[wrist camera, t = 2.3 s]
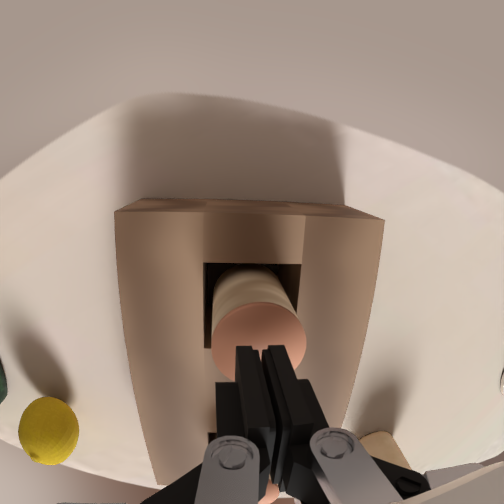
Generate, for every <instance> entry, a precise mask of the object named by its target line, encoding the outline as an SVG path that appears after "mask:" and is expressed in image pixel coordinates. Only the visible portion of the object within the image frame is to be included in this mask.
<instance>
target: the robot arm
mask: <svg viewBox="0 0 504 504" xmlns="http://www.w3.org/2000/svg"><path fill="white" fill-rule="evenodd" d="M500 389H501V393H502V394H503V395H504V373H503V375H502V379H501V386H500ZM215 396H216V428H217V439H215V440H213V441H212V442H211V443H210V444H209V445H208V446H207V448H206V450H205V453H204V458H203V462H202V463H201V464H199V465H198V466H196V467H195V468H194V469H192V470H191V471H189V472H188V473H186V474H185V475H183V476H182V477H180V478H179V479H177V480H176V481H174V482H173V483H171V484H170V485H168V486H167V487H165V488H163V489H162V490H160V491H159V492H157V493H155V494H154V495H152V496H151V497H149V498H147V499H146V500H144V501H143V502H142V503H140V504H258V502H259V501H260V500H261V499H262V498H263V497H264V496H265V495H266V489H267V485H268V481H269V475H270V477H271V481H272V484H278V487H279V491H280V492H285V491H286V494H288V495H290V496H292V497H294V501H295V504H504V461H503V462H499V463H495V464H492V465H489V466H486V467H484V466H483V465H481V464H478V463H469V464H464V465H459V466H454V467H449V468H443V469H438V470H431V471H426V472H425V473H424V474H423V475H421V474H420V473H418V472H416V471H413V470H410V469H407V468H404V467H401V466H398V465H395V464H392V463H390V462H387V461H384V460H381V459H379V458H376V457H373V456H371V455H369V454H368V452H367V451H366V449H365V448H364V447H363V445H362V444H361V443H360V441H359V440H358V439H357V437H356V436H355V435H354V434H353V433H351V432H349V431H347V430H345V429H341V428H334V427H331V428H330V427H329V425H328V423H327V420H326V418H325V416H324V413H323V411H322V409H321V406H320V404H319V402H318V399H317V397H316V395H315V392H314V390H313V388H312V385H311V383H310V381H309V380H308V379H297V377H296V374H295V371H294V369H293V366H292V364H291V361H290V358H289V356H288V353H287V350H286V348H285V346H284V345H268V348H267V349H263V350H262V356H261V359H260V355H259V351H258V349H257V350H253V348H252V346H236V356H235V382H215ZM57 504H89V503H57ZM90 504H93V503H90ZM94 504H95V503H94ZM102 504H126V503H102Z"/></svg>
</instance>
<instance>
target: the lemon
mask: <svg viewBox="0 0 504 504" xmlns="http://www.w3.org/2000/svg"><path fill="white" fill-rule="evenodd" d="M18 435H19V440H20V443H21V445H22V447H23V449H24V450H25V452H26V453H27V454H28V455H29V456H30V457H31V459H32V460H33V461H34V462H39V463H41V464H45V465H56V464H59V463H61V462H63V461H64V460H66V459H67V458H68V457H69V455H70V454H71V453H72V452H73V450H74V449H75V447H76V444H77V441H78V436H79V425H78V420H77V418H76V416H75V413H74V412H73V411H72V409H71V408H70V407H69V406H68V405H67V404H66V403H64V402H63V401H61V400H59V399H57V398H53V397H42V398H39V399H36V400H34V401H33V402H32V403H31V404H30V405H29V406H28V407H27V408H26V409H25V411H24V412H23V414H22V417H21V420H20V424H19V429H18Z"/></svg>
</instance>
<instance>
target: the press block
mask: <svg viewBox="0 0 504 504" xmlns="http://www.w3.org/2000/svg"><path fill="white" fill-rule="evenodd" d="M114 220H115V243H116V259H117V272H118V284H119V294H120V304H121V312H122V320H123V328H124V335H125V342H126V349H127V355H128V361H129V367H130V373H131V378H132V384H133V389H134V394H135V399H136V404H137V408H138V413H139V417H140V422H141V426H142V430H143V434H144V438H145V442H146V446H147V450H148V454H149V457H150V461H151V464H152V468H153V471H154V475H155V478H156V482H157V485H167V486H168V485H170V484H171V483H173V482H174V481H176V480H177V479H179V478H180V477H182V476H183V475H185V474H186V473H188V472H189V471H191V470H192V469H194V468H195V467H196V466H198V465H199V464H201V463H202V462H203V458H204V453H205V450H206V448H207V446H208V445H209V444H210V443H211V442H212V441H213V440H215V436H216V433H217V428H216V396H215V382H235V381H233V380H231V379H229V378H228V377H226V376H225V375H224V374H223V373H221V371H220V370H219V369H218V368H217V366H216V365H215V362H214V360H213V357H212V351H211V343H212V312H213V304H207V262H209V263H265V264H279V269H278V279H279V281H280V283H281V285H282V287H283V289H284V291H285V293H286V295H287V297H288V299H289V301H290V303H291V305H292V307H293V309H294V311H295V313H296V315H297V317H298V319H299V321H300V323H301V325H302V327H303V329H304V331H305V335H306V342H307V343H306V351H305V354H304V357H303V359H302V361H301V362H300V364H299V365H298V367H297V368H296V369H295V370H294V371H295V374H296V377H297V379H308V380H309V381H310V383H311V385H312V388H313V390H314V392H315V395H316V397H317V399H318V402H319V404H320V406H321V409H322V411H323V413H324V416H325V418H326V420H327V423H328V425H329V427H330V428H331V427H334V428H341V427H342V423H343V420H344V417H345V414H346V410H347V407H348V403H349V400H350V396H351V393H352V389H353V385H354V382H355V378H356V374H357V370H358V366H359V362H360V358H361V354H362V349H363V345H364V341H365V336H366V332H367V327H368V322H369V317H370V312H371V307H372V302H373V296H374V291H375V285H376V279H377V273H378V267H379V260H380V253H381V246H382V239H383V231H384V223H385V220H383V219H380V218H378V217H375V216H372V215H370V214H367V213H364V212H362V211H359V210H356V209H354V208H351V207H348V206H345V205H332V204H316V203H298V202H278V201H253V200H221V199H140V200H138V201H136V202H134V203H131V204H129V205H127V206H125V207H123V208H121V209H119V210H117V211H115V212H114Z"/></svg>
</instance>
